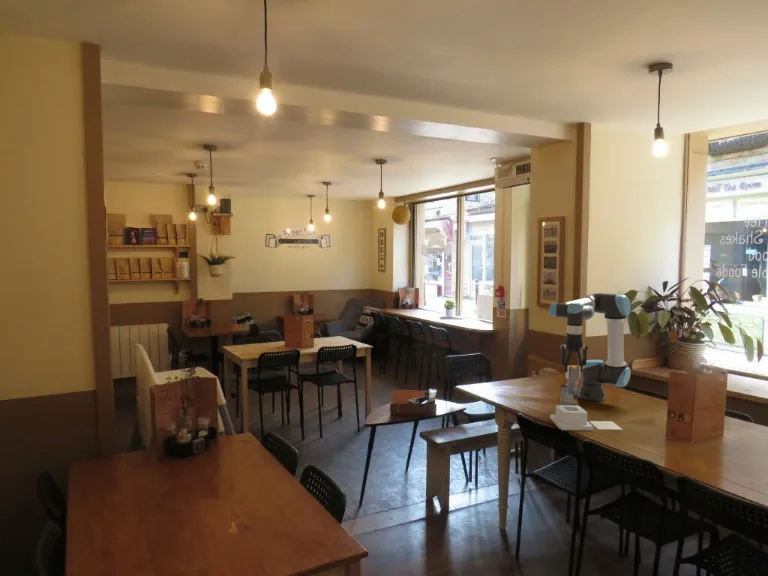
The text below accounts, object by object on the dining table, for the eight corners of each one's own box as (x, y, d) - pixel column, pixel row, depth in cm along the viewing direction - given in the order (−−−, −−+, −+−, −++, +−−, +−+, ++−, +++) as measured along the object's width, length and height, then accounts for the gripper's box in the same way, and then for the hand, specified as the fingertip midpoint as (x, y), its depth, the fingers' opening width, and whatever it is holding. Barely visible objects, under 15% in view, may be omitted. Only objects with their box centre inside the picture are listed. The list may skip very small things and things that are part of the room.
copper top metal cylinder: (565, 391, 271) (566, 365, 270) (575, 391, 271) (576, 365, 270) (569, 394, 266) (570, 367, 265) (578, 394, 266) (579, 367, 265)
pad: (589, 421, 274) (589, 421, 274) (612, 422, 274) (612, 421, 274) (598, 429, 262) (598, 429, 262) (622, 430, 262) (622, 429, 262)
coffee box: (566, 410, 293) (568, 381, 292) (578, 412, 289) (579, 384, 288) (559, 413, 287) (560, 384, 286) (570, 416, 283) (571, 387, 281)
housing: (549, 418, 279) (550, 403, 279) (580, 418, 279) (580, 403, 278) (560, 430, 261) (561, 414, 261) (593, 430, 261) (593, 414, 260)
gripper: (559, 334, 263) (557, 380, 265) (595, 334, 263) (593, 380, 264) (554, 332, 270) (552, 376, 272) (589, 332, 270) (587, 376, 272)
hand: (572, 378), depth 268 cm, fingers closed on copper top metal cylinder, 5 cm apart
